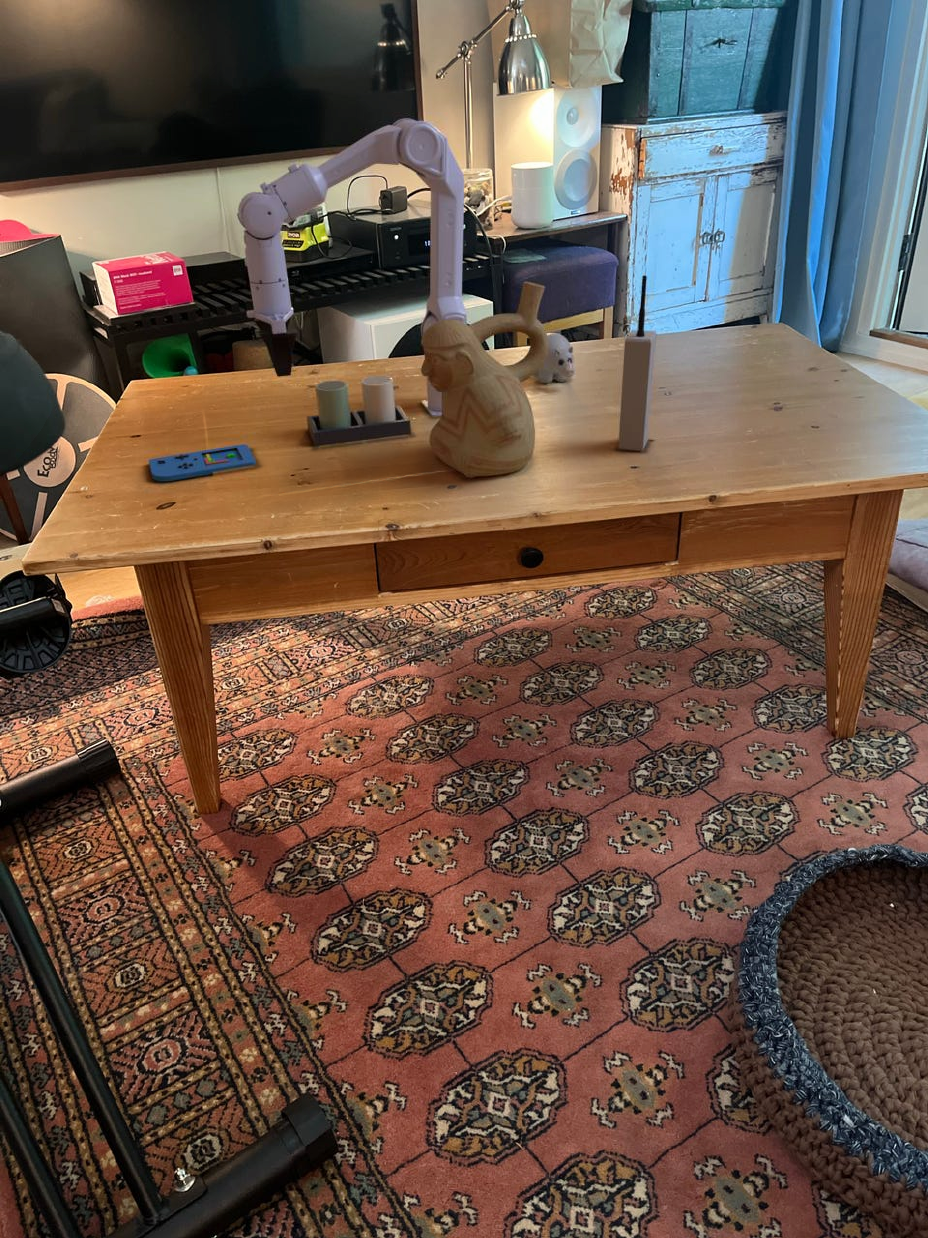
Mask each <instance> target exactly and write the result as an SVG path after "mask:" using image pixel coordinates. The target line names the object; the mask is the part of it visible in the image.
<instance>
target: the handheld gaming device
mask: <svg viewBox="0 0 928 1238" xmlns="http://www.w3.org/2000/svg"><path fill="white" fill-rule="evenodd" d="M256 464H257V462H256V458H255V456H254V455H253V453H252V451H251V449H250V447H249V446H248V444H246V443H240V444H234V445H230V446H229V445H228V446H224V447H223V446H222V447H217V448H211V449H205V450H204V449H203V450H199V451H198V450H197V451H192V452H186V453H180V454H172V455H167V456H161V457H153V458H150V459H149V460H148V465H149V468H150V472H151V473H150V474H151V477H152V479H153V480H154V481H157V482H173V481H179V480H185V479H190V478H195V477H196V478H197V477H202V476H207V475H214V473H217V472H223V471H229V470H235V469H240V468H246V467H252V466H255V465H256Z"/></svg>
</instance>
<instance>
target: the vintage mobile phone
mask: <svg viewBox="0 0 928 1238" xmlns="http://www.w3.org/2000/svg"><path fill="white" fill-rule="evenodd" d="M647 280H648V276H647V275H645V274H644V275H643V276H642V278H641V292H640V305H639V311H638V320H637V321H638V322H637V323H638V324H637V329H632V330H631V331H630V332H629V333H628V335H627V336H626V337H625V339H624V348H623V349H624V351H623V365H622V366H623V367H622V380H621V381H622V382H621V399H620V414H619V429H618V431H619V432H618V449H619V450H622V451H630V452H631V451H633V452H643V450H644V449H645V447H646V444H647V443H648V440H649V434H650V428H649V427H650V426H649V425H650V424H649V423H650V411H651V399H652V398H651V397H652V388H653V375H654V374H653V373H654V367H655V354H656V345H657V331H656V330H645V318H646V307H645V306H646V292H647Z"/></svg>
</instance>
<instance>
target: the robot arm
mask: <svg viewBox="0 0 928 1238" xmlns="http://www.w3.org/2000/svg"><path fill="white" fill-rule="evenodd" d="M452 151H453V150H452V149H451V147H450V145H449V140H448V137H447V136H446V135H444V134H443V133H442V131H440V130H439V129H438V128H437V127H436V126H434V125H433V124H432V123H430V122H428V121H425V120H415V119H413V118H407V117H405V118H400V119H398V120H396V121H395V122H394V123H392V125H391V124H387V125H385V126H382V127H380V128H378V129H375V130H374V131H372V132H371V133H368V134H367V135H365V136H364V137H362V138H360V139H359V140H357V141H356V142H354V143H352V144H351V145H349V146H348V147H347V148H345V149H343V150H342V151H339V153H337V154H336V155H334V156H333V157H331V158H328V159H327V160H326V161H325V162H323V163H322V164H320V165H318V166H312V165H310V164H307V163H302V164H300V165H298V164H297V163H293V164H290V165H289V166H288V167H287V170H288V172H287V173H285V174H283V175H282V176H280V177H279V178H277V179H274V180H273V181H271V182H270V183H267V182H266V181H265V182H263V183H261V184H259V187H260V189H261V191H262V192H261V191H252V192H251V191H250V192H249V193H247V194H245V195H244V196H243V197H242V198H241V200H240V202H239V204H238V206H237V207H238V208H237V214H236V216H237V219H238V221H239V223H240V225H241V226H242V228H244V230H243V243H244V245H245V248H244V254H245V260H246V266H247V267H246V268H247V274H248V279H249V286H250V292H251V300H252V305H253V309H251V310H247V311H246V317H247V318H249V319H253V318H254V319H253V321H254V323H255V324H256V326H257V328H258V329H259V331H258V334H259V337H260V338H261V340H262V342H263V343H264V345H265V346H266V348H267V352H268V355H269V357H270V361H271V363H272V366H273V369H274V371H275V374H276V376H277V377H278V378H281V377H290V376H292V369H293V353H294V346H295V342H296V339H297V337H298V330H297V329H296V328H295V329H289V325H290V321H291V317H292V316H293V315H294V308H293V306H292V302H291V293H290V286H289V278H288V269H287V263H286V255H285V248H284V245H283V244H282V243H283V242H282V236H281V230H282V228H283V224H284V223H291V222H293V221H294V220H296V219H297V218H300V217H301V216H303V215H305V214H307V213H308V212H309V211H311V210H313V209H315V208H317V207H319V206H320V205H322V204H323V203H325V201H326V198H327V194H328V191H329V189H330V188H332V187H334V186H336V185H338V184H340V183H342V182H343V181H346V180H348V179H350V178H352V177H353V176H355V175H357V174H359V173H360V172H363V171H365V170H367V169H368V168H370V167H372V166H374V165H377V164H378V165H389V166H390V165H391V166H399V165H401V166H403V167H405V168H407V169H409V170H411V171H412V172H414V173H415V174H416V175H417V176H418V178H420V180H421V181H423V183H425V185H426V186H427V187H428V188H429V189H430V262H429V263H430V265H429V267H430V272H429V273H430V274H429V276H430V279H429V281H430V283H429V284H430V285H429V286H430V287H429V288H430V289H429V290H430V291H429V297H428V299H427V302H426V311H425V315H424V317H423V319H422V322H421V326H420V333H421V338H422V337H423V335H424V333H425V331H426V330H427V329H428V328H429V327H430V326H431V325H433V324H434V323H436V322H438V321H441V320H447V319H452V320H458V321H460V322H462V323H464V324H465V325H467V326H468V322H467V321H468V320H467V316H468V315H467V310H466V307H465V304H464V301H463V297H462V296H463V255H464V254H463V253H464V211H465V209H464V208H465V206H464V205H465V176H464V173H463V171H462V169H461V167H460V165H459V163H458V160H457V159H456V157H455V155H454V153H453V152H452ZM425 377H426V395H427V399H424V400H421V404H422V405H423V406H424V408H425V409H426V410H427V412H428V413H429V414H430V415H431V416H432V417H435V416H442V392H438V391H437V390H436V389H435V388H434V387H433V386H431V383H430V382H429V380H428V376H425Z"/></svg>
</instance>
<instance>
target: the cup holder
mask: <svg viewBox="0 0 928 1238" xmlns="http://www.w3.org/2000/svg"><path fill="white" fill-rule="evenodd" d="M395 414H396V421H389V422H382V423H374V424H366V425H365V416H364V408H363V409H356V410H350V415H351V425H352V426H351V427H343V428H335V429H327V430H320V422H319V414H316V415H307V416H306V423H307V429H308V432H309V435H310V437H311V440H312V442H313V444H314V446H315V447H321V446H322V447H323V446H330V445H339V444H344V443H353V442H354V443H355V442H361V441H369V440H377V439H384V438H391V437H398V436H407V435H411V434H412V429H411V420H410V418H409V417H408V415H407V414H406V413H405V411H404V410H403V409H402V407H401V405H400V404H398V405H397V404H395Z"/></svg>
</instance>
